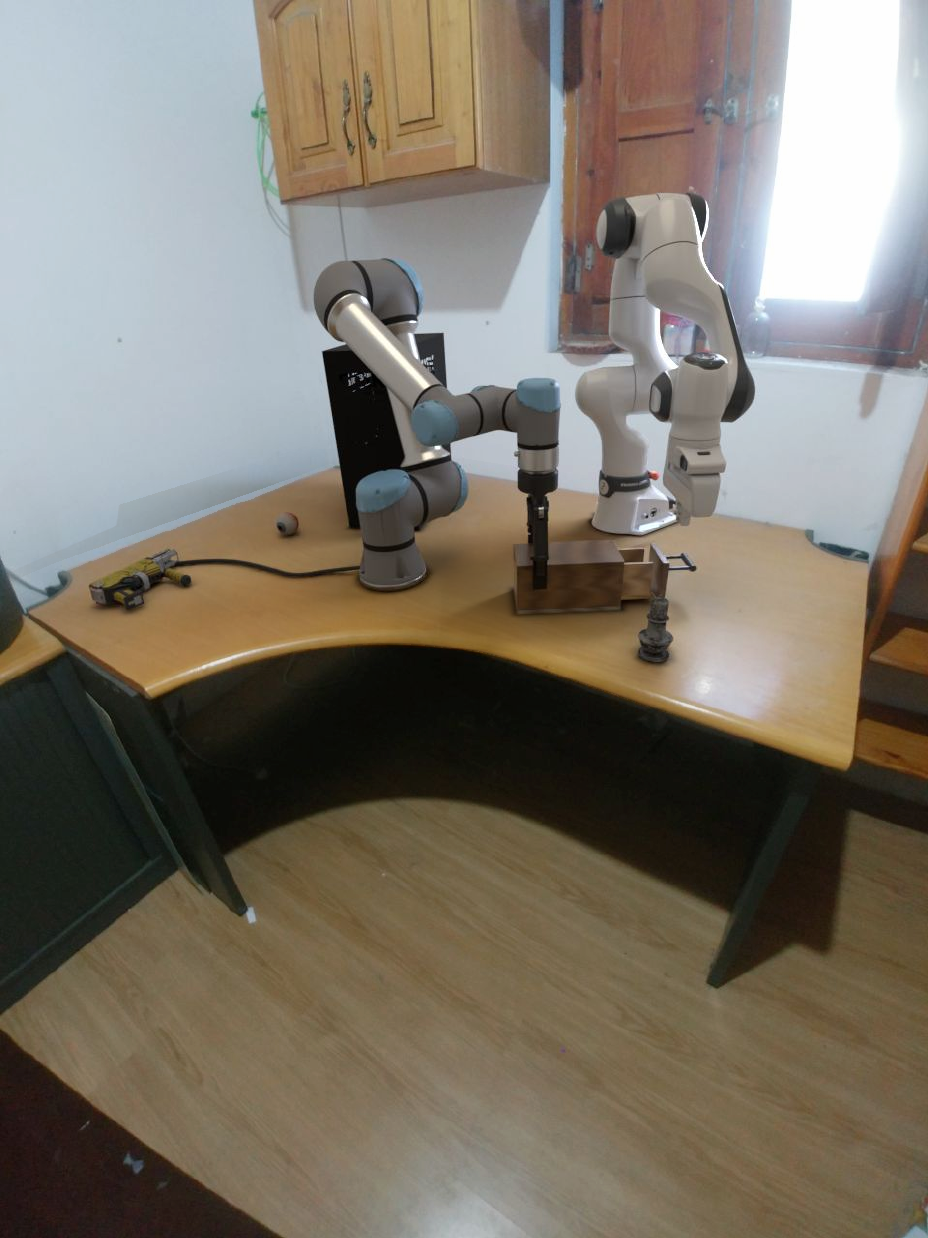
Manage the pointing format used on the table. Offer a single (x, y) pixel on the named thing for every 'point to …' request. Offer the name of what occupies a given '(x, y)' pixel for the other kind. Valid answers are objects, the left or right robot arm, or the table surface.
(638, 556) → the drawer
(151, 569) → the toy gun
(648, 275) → the right robot arm
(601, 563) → the brown wooden box
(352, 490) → the black piece
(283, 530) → the eyeball
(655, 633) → the stone chess piece
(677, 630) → the table surface
